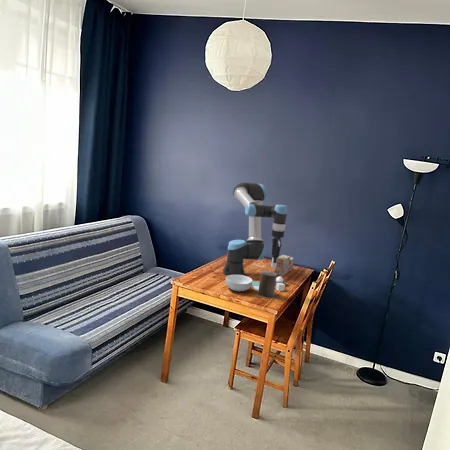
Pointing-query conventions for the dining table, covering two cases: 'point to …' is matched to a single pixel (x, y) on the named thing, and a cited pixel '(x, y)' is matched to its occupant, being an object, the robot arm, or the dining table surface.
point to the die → (280, 286)
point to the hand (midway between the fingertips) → (273, 267)
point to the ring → (266, 297)
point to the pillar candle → (267, 283)
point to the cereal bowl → (238, 282)
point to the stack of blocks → (284, 265)
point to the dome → (279, 279)
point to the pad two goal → (255, 283)
